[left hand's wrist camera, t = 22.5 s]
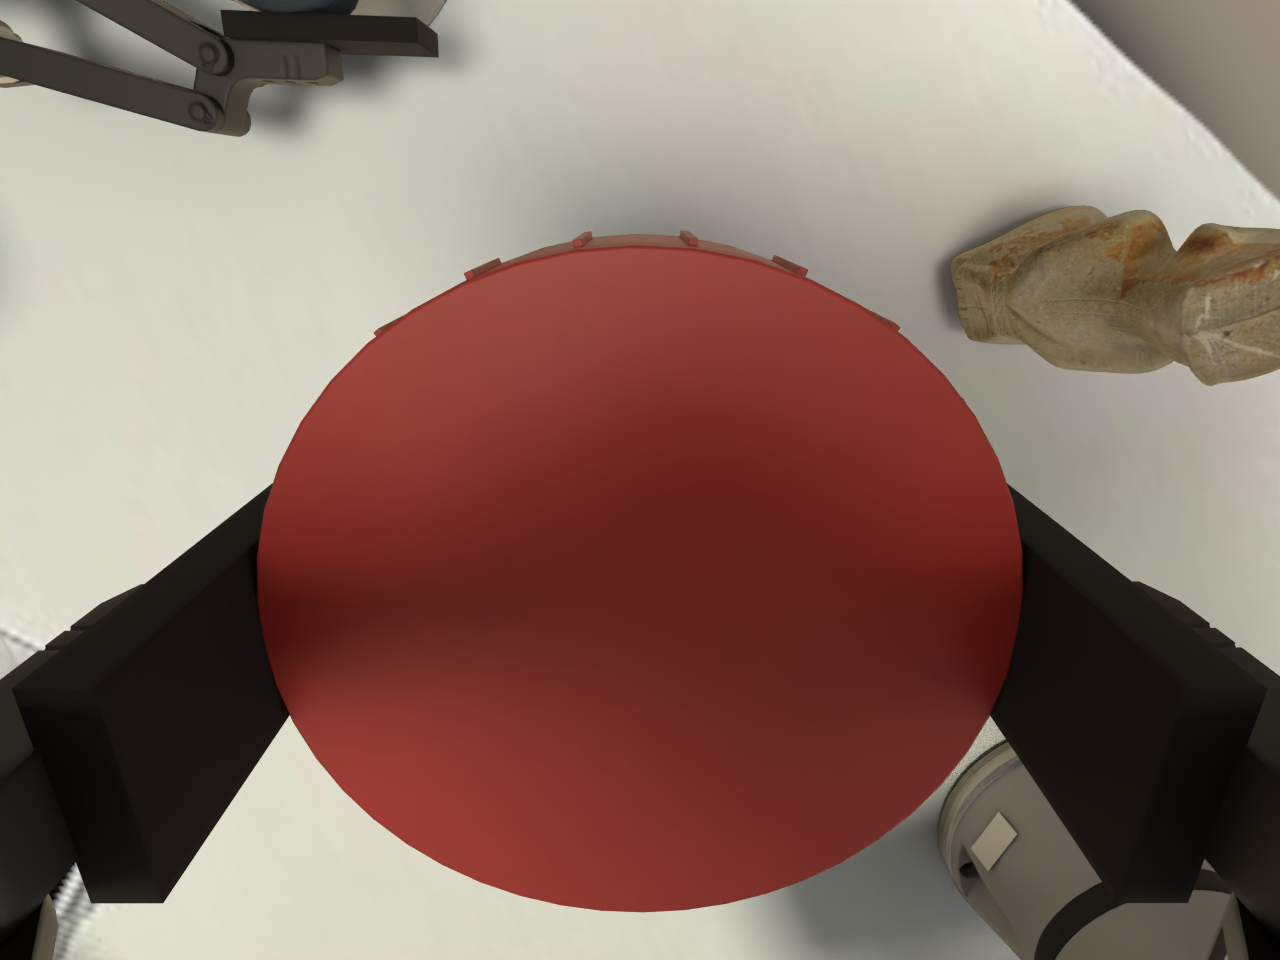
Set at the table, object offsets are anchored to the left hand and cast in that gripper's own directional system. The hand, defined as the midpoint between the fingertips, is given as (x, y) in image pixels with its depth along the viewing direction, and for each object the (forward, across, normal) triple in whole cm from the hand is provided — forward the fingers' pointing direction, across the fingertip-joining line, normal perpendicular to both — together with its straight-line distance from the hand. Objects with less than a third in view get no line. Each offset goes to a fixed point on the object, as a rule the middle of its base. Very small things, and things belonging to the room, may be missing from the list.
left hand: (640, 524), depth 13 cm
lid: (-3, 0, 0) cm, 3 cm away
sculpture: (+24, -17, -2) cm, 30 cm away
